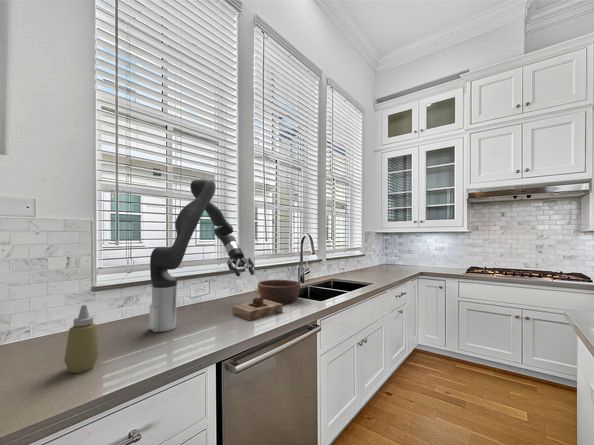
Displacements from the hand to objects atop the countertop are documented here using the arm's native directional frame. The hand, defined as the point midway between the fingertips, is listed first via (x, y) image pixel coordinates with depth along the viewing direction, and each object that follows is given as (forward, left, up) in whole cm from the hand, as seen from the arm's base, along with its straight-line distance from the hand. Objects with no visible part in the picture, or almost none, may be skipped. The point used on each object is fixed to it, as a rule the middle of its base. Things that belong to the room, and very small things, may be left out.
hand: (246, 274), depth 150 cm
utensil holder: (0, -10, -18) cm, 21 cm away
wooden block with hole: (0, -11, -18) cm, 21 cm away
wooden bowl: (+26, +3, -18) cm, 32 cm away
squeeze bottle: (-72, -23, -18) cm, 78 cm away
